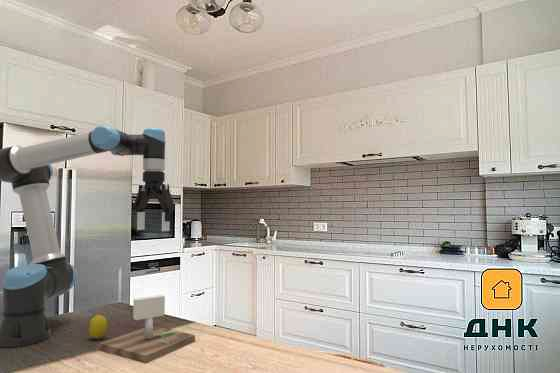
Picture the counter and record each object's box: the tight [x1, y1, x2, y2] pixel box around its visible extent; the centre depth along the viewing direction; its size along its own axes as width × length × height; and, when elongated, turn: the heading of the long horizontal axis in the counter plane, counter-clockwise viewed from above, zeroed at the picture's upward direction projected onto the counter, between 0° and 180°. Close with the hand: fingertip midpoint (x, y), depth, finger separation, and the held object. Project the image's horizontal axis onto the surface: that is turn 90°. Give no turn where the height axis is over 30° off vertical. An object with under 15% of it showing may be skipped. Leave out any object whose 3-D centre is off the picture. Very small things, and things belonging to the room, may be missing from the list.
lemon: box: [88, 313, 108, 340], centre depth 127 cm, size 6×6×8 cm
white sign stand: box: [132, 294, 178, 339], centre depth 122 cm, size 14×2×12 cm, turn 126°
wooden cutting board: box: [98, 325, 196, 364], centre depth 121 cm, size 20×20×2 cm
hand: (152, 230), depth 139 cm, fingers open, 13 cm apart
